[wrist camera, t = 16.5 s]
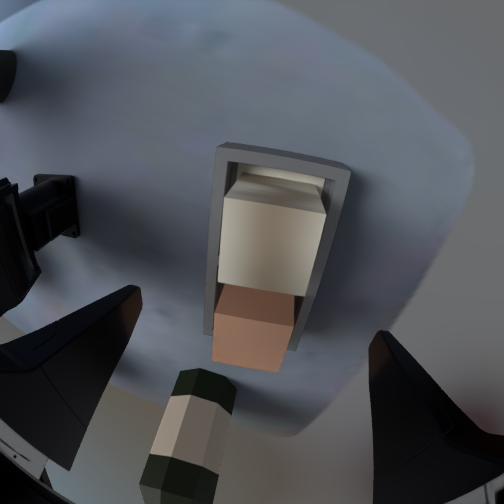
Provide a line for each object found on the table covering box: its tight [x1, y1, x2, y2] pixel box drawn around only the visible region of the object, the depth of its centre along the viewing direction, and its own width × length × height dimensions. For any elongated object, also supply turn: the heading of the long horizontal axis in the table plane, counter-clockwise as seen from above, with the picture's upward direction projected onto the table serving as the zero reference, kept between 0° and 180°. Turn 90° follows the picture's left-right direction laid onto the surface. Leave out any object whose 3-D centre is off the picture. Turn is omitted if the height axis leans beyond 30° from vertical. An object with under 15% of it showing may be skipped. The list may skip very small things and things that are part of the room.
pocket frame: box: [204, 142, 351, 351], centre depth 21 cm, size 8×16×3 cm, turn 172°
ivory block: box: [218, 172, 326, 297], centre depth 17 cm, size 5×5×6 cm
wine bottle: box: [139, 368, 237, 504], centre depth 20 cm, size 8×8×30 cm
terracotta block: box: [212, 283, 294, 373], centre depth 20 cm, size 5×5×6 cm
